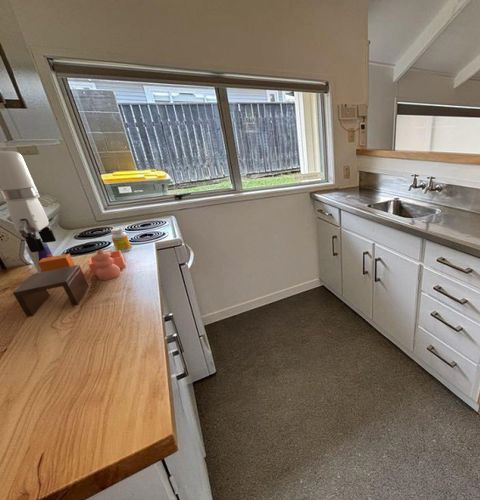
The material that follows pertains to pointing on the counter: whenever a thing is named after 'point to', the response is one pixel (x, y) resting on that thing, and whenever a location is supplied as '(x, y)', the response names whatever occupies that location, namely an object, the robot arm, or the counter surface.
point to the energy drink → (39, 255)
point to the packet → (56, 262)
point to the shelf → (37, 284)
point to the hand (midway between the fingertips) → (44, 246)
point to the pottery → (106, 264)
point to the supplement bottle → (120, 240)
